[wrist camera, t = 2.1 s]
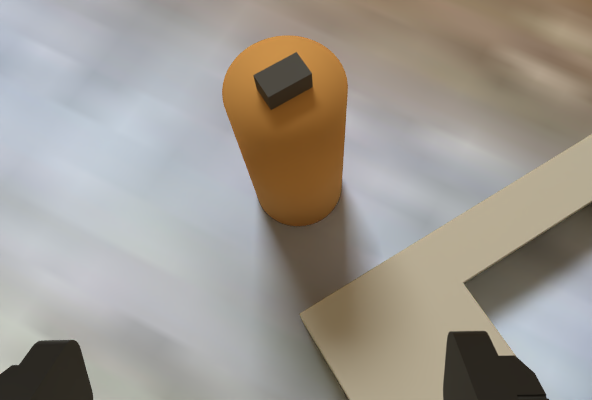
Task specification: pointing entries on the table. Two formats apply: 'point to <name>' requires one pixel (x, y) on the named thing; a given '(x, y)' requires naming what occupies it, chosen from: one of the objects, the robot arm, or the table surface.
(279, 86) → the orange capsule with nub
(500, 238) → the beige plate with cutout
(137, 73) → the table surface
